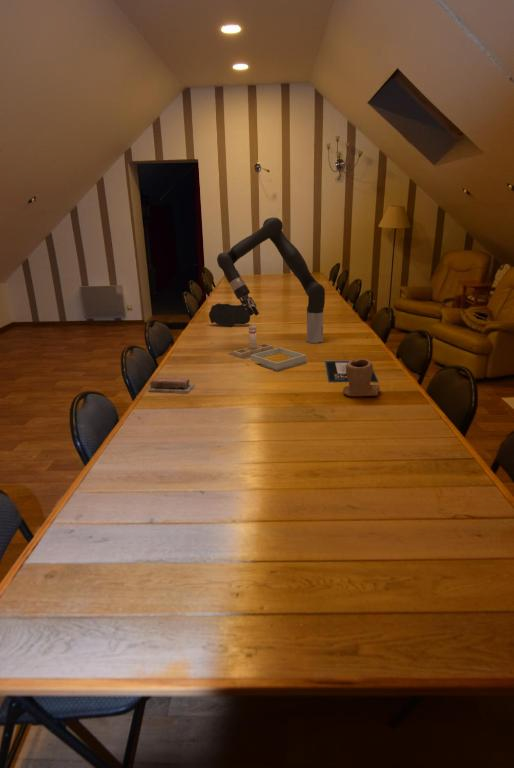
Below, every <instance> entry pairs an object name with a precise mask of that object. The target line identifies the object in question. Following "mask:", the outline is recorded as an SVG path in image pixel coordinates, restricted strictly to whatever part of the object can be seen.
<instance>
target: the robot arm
mask: <svg viewBox="0 0 514 768" xmlns="http://www.w3.org/2000/svg"><path fill="white" fill-rule="evenodd" d="M283 226H284V225H283V222H282V220H281V219H280V218H278V217H276V216H275V217H268V218H266V219H265V220H264V221H263V223H262V226H261V227H260V228H259V229H258V230H257V231H255V232H254V233H252V234H249V236H246V237H245V238H243V239H241V240H240V241H239V242H237V243H236V244H235V245H233V246H232V247H231V248H230V250H229V251H228V252H227V253H226V252H220V253H219V254H218V255H217V257H216V262H217V264H218V265H217V266H218V267H219V268H220V270H222V272H223V274H224V277H225V279H226V281H227V282H228V284H229V286H230V288H231V290H232V292H233V293H234V295H235V297H236V299H237V300H239V301H240V305H241V304H242V305H243V307H244V309H246V310H247V311H248V313H249V314H250V317H251V316H253V315H255V317H256V316H258V315H259V314H260V312H259V311H258V309H257V304H256V303H255V301H254V299H253V297H252V296H249V295H250V293H251V292H250V289H249V287H248V286H247V284H246V281H245V280H244V279H243V278H242V277H241V274H240V273H239V271H238V270H237V268H236V266H235V263H237V261H239V260H240V259H241V258H242V257H244V256H245V255H247V254H248V253H250V252H251V251H253V250H254V249H255V248H256V247H258V246H259V245H261V244H262V243H263V242H266V241H267V240H268V239H269V240H270V242H272V244H273V245H274V246H275V248H276V249H277V251H278V253H279V254H280V256H281V258H282V259H283V261H284V263H285V264H286V265H287V267H288V268H289V270H290V271H291V273H293V275H294V276H295V277H296V278H297V280H298V281H299V282H300V284H301V286H302V288H303V290H304V291H305V294H306V296H308V297H307V298H308V299H307V300H308V303H307V307H306V342H307V343H310V344H320V343H319V342H321V343H324V308H325V301H326V300H325V299H326V289H325V287H324V286H323V285H322V284H320V283H319V282H318V281H317V280H316V279H315V277H314V276H313V275H312V274H311V271H310V270H309V268H308V265H307V263H306V260H305V259H304V257H303V256H302V254H301V252H300V251H299V250H298V248H297V247H296V246H295V245H294V244H293V243H292V242H291V241H290V240H289V239H288V238H287V237H286V235H285V234H284V232H283Z"/></svg>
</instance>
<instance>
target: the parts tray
mask: <svg viewBox="0 0 514 768" xmlns="http://www.w3.org/2000/svg"><path fill="white" fill-rule="evenodd" d="M277 354H283V355H286V356H290V358H289V359H285V360H281V361H278V362H276V361H274V360H270V359H266V358H265V357H269V356H272V355H277ZM250 360H251V361H254V362H255V363H253V364H254V365H257V366H260V367H263V368H266V369H269V370H272V371H275V372H280V371H283V370H287V369H290V368H293V367H297V366H300V365H303V364H306V363H307V354H304V353H300V352H298V351H293V350H290V349H286V348H283V347H276V348H273V349H272V350H268V351H264V352H260V353H256V354H252V355H251V358H250Z"/></svg>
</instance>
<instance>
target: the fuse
mask: <svg viewBox="0 0 514 768" xmlns="http://www.w3.org/2000/svg"><path fill="white" fill-rule="evenodd" d="M248 340H249V342H248V345H249V346H248V347H249V349H251V350H255V349H257V345H258V344H257V325H256V324H251V325H248Z"/></svg>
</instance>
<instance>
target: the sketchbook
mask: <svg viewBox="0 0 514 768" xmlns="http://www.w3.org/2000/svg"><path fill="white" fill-rule="evenodd" d="M350 361H351V360H350V359H348V360H347V359H346V360H343V359H339V360H338V359H336V360H335V359H334V360H333V359H332V360H331V359H329V360H328V359H326V360H324V364H325V366H324V367H325V371H326V377H327V376H328V377H327V381H328V384H329V383H330V382H334V383H335V384H337V382H340V383H342V382H345V384H346V382H348V379H347V375H346V365H347V363H348V362H350ZM376 375H377V374H376V373H375V370H373V373H372V377H371V381H370V384H371V382H373V383H372V384H374V383H375V384H378V383H379V380H378V378H377V376H376ZM377 382H378V383H377ZM342 384H343V383H342Z"/></svg>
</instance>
